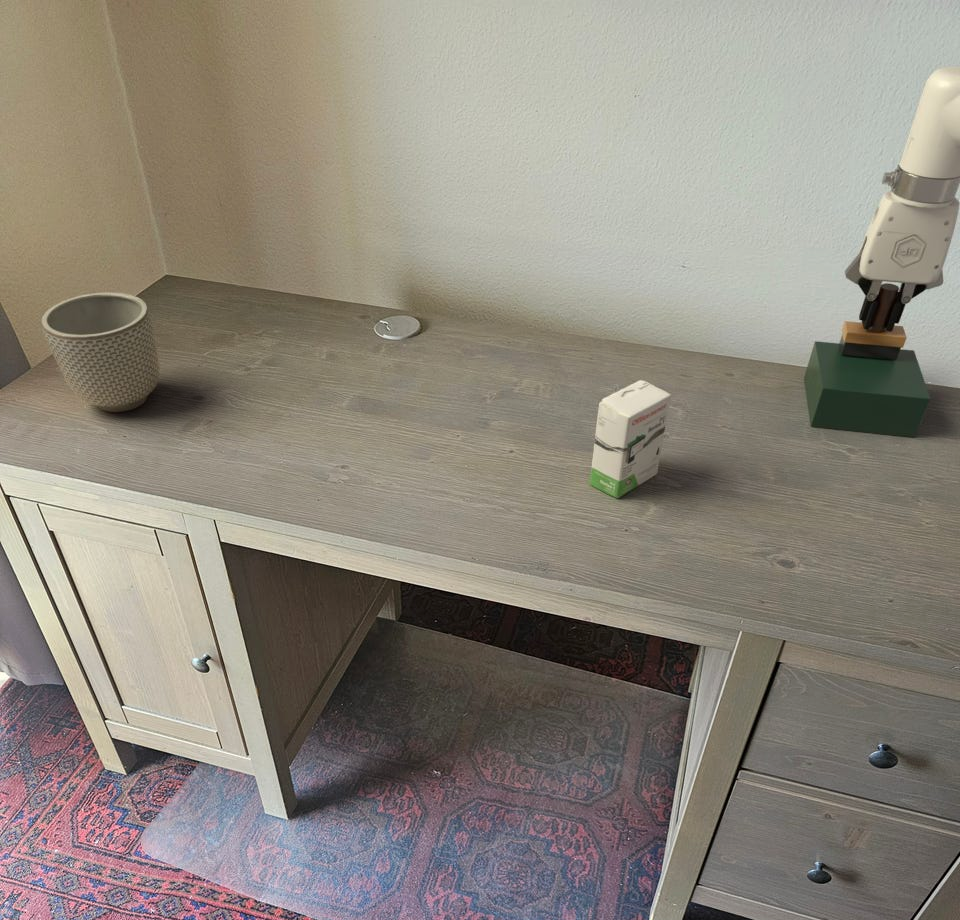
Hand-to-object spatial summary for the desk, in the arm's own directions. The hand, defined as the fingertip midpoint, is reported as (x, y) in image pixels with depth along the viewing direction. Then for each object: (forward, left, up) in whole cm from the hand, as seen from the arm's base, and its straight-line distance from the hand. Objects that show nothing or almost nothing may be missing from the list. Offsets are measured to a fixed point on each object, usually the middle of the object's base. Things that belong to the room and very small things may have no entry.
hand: (876, 325), depth 121 cm
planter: (+105, +24, -10) cm, 108 cm away
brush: (0, 0, -4) cm, 4 cm away
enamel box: (0, +4, -10) cm, 11 cm away
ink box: (+32, +29, -10) cm, 45 cm away
